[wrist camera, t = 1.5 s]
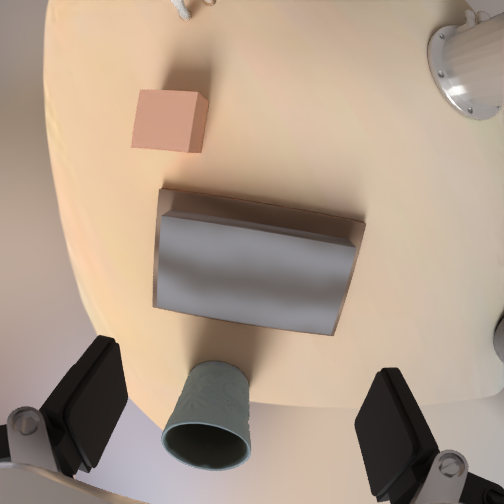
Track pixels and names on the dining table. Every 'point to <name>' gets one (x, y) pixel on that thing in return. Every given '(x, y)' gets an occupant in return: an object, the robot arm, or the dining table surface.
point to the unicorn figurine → (184, 12)
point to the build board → (253, 262)
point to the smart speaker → (499, 340)
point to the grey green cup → (211, 419)
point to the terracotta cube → (170, 120)
